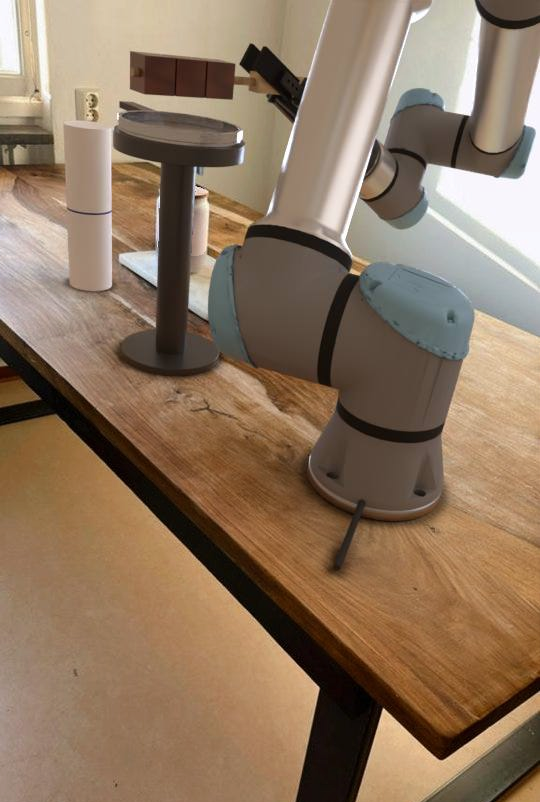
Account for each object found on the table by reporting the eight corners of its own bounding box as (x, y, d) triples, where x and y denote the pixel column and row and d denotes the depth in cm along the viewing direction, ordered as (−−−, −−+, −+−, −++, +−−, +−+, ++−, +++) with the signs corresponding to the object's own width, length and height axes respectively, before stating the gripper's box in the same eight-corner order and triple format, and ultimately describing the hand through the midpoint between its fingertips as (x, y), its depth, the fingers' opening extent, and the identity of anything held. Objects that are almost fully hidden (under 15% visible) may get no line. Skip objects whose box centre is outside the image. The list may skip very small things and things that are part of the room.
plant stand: (169, 310, 114) (178, 103, 97) (246, 368, 100) (272, 136, 83) (76, 322, 106) (68, 97, 89) (145, 387, 91) (150, 132, 74)
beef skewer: (296, 100, 93) (300, 67, 91) (314, 104, 90) (318, 71, 88) (124, 88, 80) (124, 50, 78) (139, 94, 77) (140, 54, 75)
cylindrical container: (70, 290, 116) (63, 126, 103) (68, 276, 122) (62, 118, 108) (113, 291, 119) (113, 130, 105) (110, 277, 124) (109, 123, 110)
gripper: (379, 197, 98) (272, 94, 80) (313, 172, 107) (205, 76, 90) (409, 147, 96) (306, 32, 79) (339, 126, 106) (234, 19, 88)
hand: (252, 55), depth 84 cm, fingers closed on beef skewer, 2 cm apart
